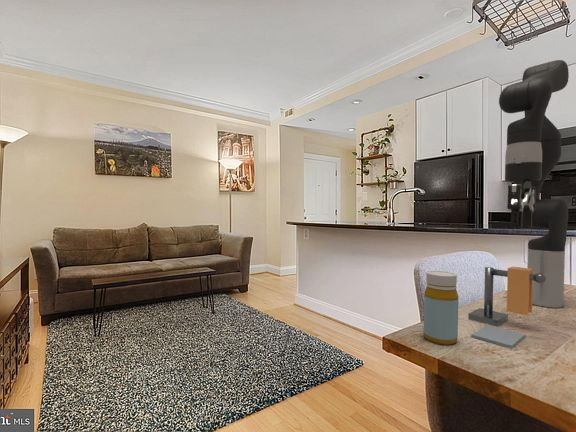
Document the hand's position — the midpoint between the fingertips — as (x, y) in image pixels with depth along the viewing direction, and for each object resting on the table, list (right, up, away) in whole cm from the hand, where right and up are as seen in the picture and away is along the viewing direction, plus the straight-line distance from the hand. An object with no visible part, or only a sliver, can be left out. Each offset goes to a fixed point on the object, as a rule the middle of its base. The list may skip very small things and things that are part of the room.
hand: (521, 226), depth 82 cm
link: (0, -22, 0) cm, 22 cm away
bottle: (-24, -25, -8) cm, 36 cm away
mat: (-10, -25, -7) cm, 28 cm away
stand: (-2, -25, +2) cm, 25 cm away
